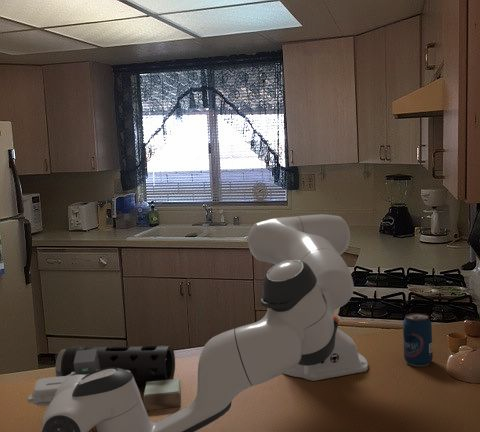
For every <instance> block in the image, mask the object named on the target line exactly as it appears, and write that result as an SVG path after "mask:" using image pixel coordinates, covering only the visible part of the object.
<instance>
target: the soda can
mask: <svg viewBox="0 0 480 432" xmlns="http://www.w3.org/2000/svg"><path fill="white" fill-rule="evenodd" d="M402 337H403V340H402V341H403V358H404V360H405V361H406V363H407V364H408V365H410V366H413V367H427V366H429V365H430V364H431V362H432V360H433V359H434V354H433V353H434V352H433V329H432V321H431V320H430V316H429V315H428V314H426V313H422V312H421V313H419V312H415V313H413V312H412V313H407V314H405V316H404V320H403V321H402Z"/></svg>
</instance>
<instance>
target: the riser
mask: <svg viewBox="0 0 480 432" xmlns="http://www.w3.org/2000/svg"><path fill="white" fill-rule="evenodd" d="M144 387H145V388H144V392H143V404H144V407H145V409H146V411H150V410H151V411H152V410H160V409H171V408H180V407H181V406H182V389H181V388H182V387H181V379H180V378H173V379H170V380H160V381H150V382H146V386H144Z"/></svg>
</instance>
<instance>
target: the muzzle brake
mask: <svg viewBox="0 0 480 432" xmlns="http://www.w3.org/2000/svg"><path fill="white" fill-rule="evenodd" d="M91 349H97V353H98V359H99V365H100V369H104V368H108V367H115V368H120V369H124V370H129V371H131V373H132V374H133V377H134V379H135V382H136V384H137V387H138V388H139V387H141V388H142V387H145V386H146V382H150V381H160V380H170V379H175V378H174V377H175V371H176V356H175V351H174V348H173V347H172V345H149V346H147V345H145V346H143V345H141V346H136V345H135V346H93V347H91V348H90V347H89V346H85V345H82V346H81V345H76V346H75V345H73V346H69V347H68V348H63V349H60V351H59V352H58V354H57V357H56V358H55V360H56V361H55V368H54V369H55V371H54V372H55V375H56V376H55V377H60V376H67V375H70V374H71V372H75V369H74V359H75V355H76V351H81V350H91Z"/></svg>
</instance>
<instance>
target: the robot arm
mask: <svg viewBox="0 0 480 432" xmlns="http://www.w3.org/2000/svg"><path fill="white" fill-rule="evenodd" d="M350 240H351V230H350V227H349V225H348V223H347V222H346V220H345V219H344V218H342V216H340V215H333V214H325V213H324V214H323V213H322V214H321V213H319V214H306V215H297V216H296V215H295V216H284V217H272V218H268V219H266V220H265V219H264V220H262V221H258V222H255V223H254V224H253V225H252V227H250V229H249V231H248V236H247V245H248V249H249V251H250V253H251V254H252V256H253V257H254V258H255V259H256V260H257V261H259V262H265V263H268V264H273V266H272V267H270V268H269V269H268V270H267V272H266V274H265V275H264V277H263V279H262V280H263V281H262V296H261V299H260V305H261V306H262V307H264V308H267V311H266V313H265V315H264V316H263V317H262V318H261V319H260V320H258V321H257V320H256V322H252V323H250V324H249V323H248V324H245V325H242V326H238V327H235V328H232V329H229V330H226V331H224V332H221V333H219V334H216V335H214V336H212V338H210V339H209V340H208V341H207V342H206V343H205V345H204V346H203V348H202V349H201V352H200V355H199V359H198V365H197V366H198V367H197V389H196V395H195V398H194V399H193V401H192V402H191V403H190V404H189V405H188V406H186V407H184V408H182V409H180V410H177V411H176V412H174V413H172V414H170V415H168V416H166V417H164V418H163V419H160V420H159V421H153V420H151V419H150V416H149V415H148V412H147V410H146V409H145V407H144V400H142V399H143V398H142V395H141V392H140V389H139V387H137V384H136V382H135V379H134V377H133V374H132V373H131V371H129V370H124V369H120V368H115V367H108V368H104V369H98V370H97V371H95V372H92V373H90V374H81V375H76V374H75V372H71V374H70V375H67V376H60V377H56V376H52V377H42V378H39V379H38V380H36V381H35V383H34V385H33V393H31V394H29V396H28V398H27V402H28V403H29V404H30V403H31V404H33V405H35V406H38V407H46V409H45V411H44V413H43V417H42V420H41V428H40V430H41V432H89V431H91V430H92V429H93V428H94V427H95V429H96V431H97V432H197V431H199V430H200V429H202V428H204V427H207V426H208V425H210V424H211V423H213V422H215V421H217V420H218V419H220V418H221V417H223V416H224V415H225V414H226V413H227V412H228V411H229V410H230V409H231V407H232V402H233V400H234V399H235V398H236V397H237V396H238V395H239V394H240V393H241V392H243V391H245V390H247V389H248V388H251V387H254V386H257V385H261V384H264V383H266V382H268V381H270V380H272V379H275V378H277V377H279V376H281V375H282V374H283V375H287V376H291V377H294V378H295V377H296V378H302V379H304V380H308V381H311V382H312V381H313V382H315V381H320V380H325V379H331V378H335V377H336V378H337V377H342V376H348V375H353V374H357V373H358V374H359V373H365V372H367V370H368V369H369V363H368V361H367V359H366V358H365V357H364V356H363V355H362V354H360V353H359V352H358V348H357V345H356V343H355V340H354V339H353V338H352V337H350V336H349V335H348V334H346V332H343V330H341V329H339V328H338V327H339V323H340V319H339V318H338V317H337V316H336V315H334V312H335V311H336V310H338V309H340V308H342V307H344V306H345V305H346V304H347V303H348V302H349V301H350V299H351V298H352V296H353V293H354V288H355V287H354V280H353V277H352V274H351V272H350V269H349V266H348V265H347V263H346V261H345V260H344V259H343V257H342V256H341V255H342V254H344V253H345V251H346V250H347V249H348V247H349V245H350Z"/></svg>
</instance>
